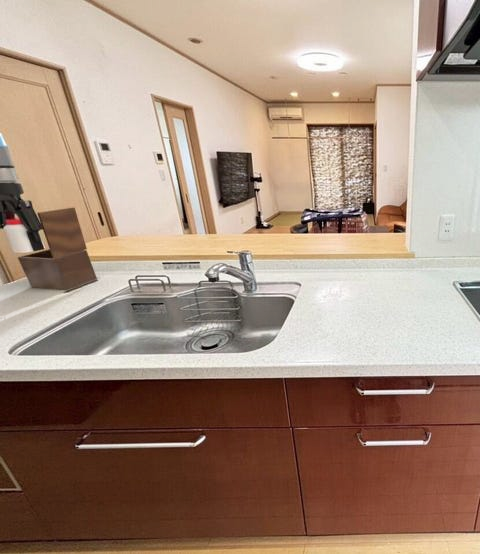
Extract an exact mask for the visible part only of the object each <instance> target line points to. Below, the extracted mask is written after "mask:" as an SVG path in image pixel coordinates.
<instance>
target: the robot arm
mask: <svg viewBox="0 0 480 554" xmlns="http://www.w3.org/2000/svg"><path fill="white" fill-rule="evenodd" d="M19 181H20V178H19V175H18V172H17V171H16V168H15V164H14V161H13V158H12V155H11V153H10V151H9V148H8V144H7V143H6V141H5V138H4V136H3V134H2V133H0V230H4V229H3V228H4V227H5V226H6V225H7V223H6V221H5V220H6V219H12V218H16V216H17V218H19V219H20V220H21V222H22V223H23V225H24V226H25V227H26V229H27V230H28V231H26V233H27V235H28V238H29V240H30V243H31V246H32V248H33V251H34V252H39V251H44V250H45V249H44V246H45V245H44V246H43V244H42V241H43V240H42V241H41V238H42V237H41V238H40V235H41V234H40V235H39V233H40V231H43V227H42V225H41V223H40V220H39V217H38V214H37V212H36V211H35V209H34V207H33V202H32V200H25V199H23V198H22V196H21V195H23V194H24V193H25V191H24V189H23V186H22V183H20V182H19ZM38 231H39V232H38ZM38 250H39V251H38Z"/></svg>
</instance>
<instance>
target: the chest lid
mask: <svg viewBox="0 0 480 554" xmlns="http://www.w3.org/2000/svg"><path fill="white" fill-rule="evenodd" d="M36 215H37V217H38V219H39V221H40V223H41V225H42V227H43V229H42V231H43V234H44V237H45V240H46V243H47V246H48V249H50V251H51V254H52V257H53V258H57V257H61V256H64V255H68V254H71V253H75V252H79V251H82V250H87V249H88V248H87V244H86V241H85V238H84V234H83V232H82V227H81V224H80V221H79V218H78V214H77V211H76V208H75V207H73V206H72V207H66V208H60V209H59V208H58V209H53V210H47V211H45V210H44V211H39V212H36Z"/></svg>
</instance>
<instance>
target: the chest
mask: <svg viewBox="0 0 480 554" xmlns="http://www.w3.org/2000/svg"><path fill="white" fill-rule="evenodd" d="M17 260H18V262H19V264H20V266H21V268H22V271H23V272H24V275H25V278H26V279H27V281H28V283H29V285H30V287H31V288H33V289H48V290H60V291H61V290H62V291H64V293H71V292H73V291H77V290H78V289H80V288H83V287H85V286H89V285H90V284H93V283H96V282H98V281H99V280H98V279H97V278H98V277H97V275H96V271H95V268H94V266H93V263H92V262H91V259H90V256H89V253H88V250H87V249H86V250H82V251H79V252H75V253H71V254H68V255H64V256H61V257H57V258H53V257H52V254H51V251H50V248H48V249H43V250H39V251H35V252H31V253H29V254H25V255H21V256H18V257H17Z"/></svg>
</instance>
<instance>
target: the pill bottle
mask: <svg viewBox="0 0 480 554" xmlns="http://www.w3.org/2000/svg"><path fill="white" fill-rule="evenodd" d="M5 221H6V223H7V225H6V226H5V227H4V228H3V229H2V230H3V231H4V233H5V235H6V238H7V241H8V243H9V246H10V248H11V250H12V252H13V253H14V254H15V253H16V254H24V253H35V251H33V248H32V246H31V243H30V240H29V238H28V235H27V233H26V231H28V230H27V229H26V227H25V226H24V225H23V223H22V222H21V220H20V219H19V218H18V217H15V218H12V219H6V220H5ZM38 232H39V235H40V238H41V241H42V244H43V246H44V249H43V250H46V247H45V243H44V241H43V238H42V235H41V233H40V230H39V231H38ZM37 252H40V250H38V251H37Z"/></svg>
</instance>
